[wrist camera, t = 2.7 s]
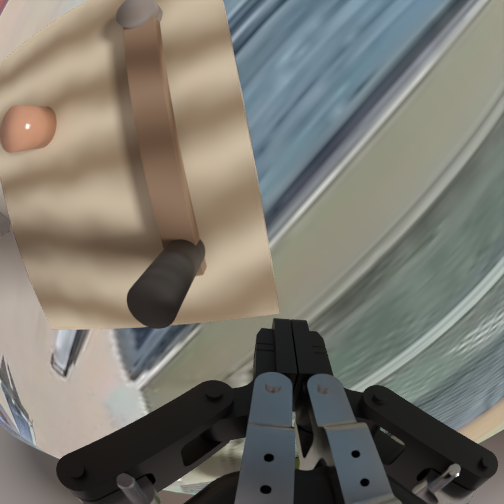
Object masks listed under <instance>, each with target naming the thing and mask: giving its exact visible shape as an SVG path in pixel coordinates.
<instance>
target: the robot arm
mask: <svg viewBox="0 0 504 504" xmlns="http://www.w3.org/2000/svg"><path fill="white" fill-rule="evenodd" d="M292 411H294V412H295V413H296V419H295V422H294V427H292ZM380 427H382V428H383V429H385V430H386V431H388V432H389V433H391V434H392V435H393V436H395V437H396V438H398V439H399V440H401V441H402V442H403V443H404V444H405V445H402V444H400V443H398V442H397V441H395V440H394V439H392V438H391V437H390V436H388V435H387V434H385V433H384V432H382V431H381V430H380ZM245 437H246V439H245V445H244V451H243V457H242V463H241V469H240V471H237V472H233V473H230V474H227V475H224V476H222V477H220V478H217V479H216V480H214V481H212V482H211V483H210V484H208V485H207V486H206V487H205V488H203V489H202V490H201V491H199V492H198V493H197V494H196V495H194V496H193V497H192V498H190V499H189V500H188V501H186V502H185V503H184V504H469V502H470V500H471V498H472V496H473V494H474V492H475V490H476V489H477V488H478V487H479V486H481V485H482V484H483V483H485V482H486V481H487V480H488V479H489V478H491V477H492V476H493V475H494V474H495V473H496V471H497V468H498V461H497V458H496V456H495V455H494V454H493V453H492V452H491V451H489V450H487V449H486V448H484V447H482V446H480V445H479V444H477V443H475V442H474V441H472V440H470V439H468V438H467V437H465V436H463V435H462V434H460V433H458V432H457V431H455V430H453V429H452V428H450V427H448V426H447V425H445V424H443V423H442V422H440V421H439V420H437V419H435V418H434V417H432V416H430V415H429V414H427V413H426V412H424V411H422V410H421V409H419V408H418V407H416V406H415V405H413V404H411V403H410V402H408V401H407V400H405V399H404V398H402V397H400V396H399V395H397V394H396V393H394V392H393V391H391V390H390V389H388V388H386V387H384V386H379V385H374V386H370V387H368V388H366V389H365V391H364V393H362V392H357V391H352V390H348V389H346V388H344V387H343V385H342V383H341V382H340V381H339V380H338V379H337V378H336V377H334V376H333V373H332V369H331V365H330V361H329V358H328V354H327V351H326V348H325V343H324V340H323V338H322V337H321V336H320V335H319V333H318V332H316V331H309V328H308V324H307V321H306V320H293V319H291V320H290V319H278V318H274V319H273V324H272V329H266V328H261V330H260V331H259V332H258V334H257V337H256V345H255V353H254V363H253V381H252V382H251V383H249V384H248V385H246V386H243V387H239V388H231V387H230V386H229V385H228V384H226V383H224V382H221V381H217V380H210V381H205V382H202V383H201V384H199V385H197V386H196V387H194V388H192V389H191V390H189V391H187V392H186V393H184V394H182V395H181V396H179V397H177V398H176V399H174V400H172V401H171V402H169V403H167V404H165V405H164V406H162V407H160V408H158V409H157V410H155V411H153V412H151V413H149V414H148V415H146V416H144V417H142V418H140V419H138V420H136V421H135V422H133V423H131V424H129V425H127V426H125V427H123V428H121V429H119V430H117V431H115V432H113V433H111V434H109V435H107V436H105V437H103V438H101V439H99V440H97V441H95V442H93V443H91V444H89V445H86V446H84V447H82V448H80V449H78V450H76V451H73V452H71V453H69V454H66V455H65V456H63V457H62V458H61V459H60V460H59V462H58V464H57V468H56V471H57V476H58V478H59V480H60V482H61V483H62V484H63V485H64V486H65V487H66V488H68V489H69V490H70V492H71V493H72V494H73V495H74V496H75V497H76V498H78V499H79V500H80V501H81V502H83V503H84V504H160V503H161V501H160V497H159V495H158V492H159V491H161V490H162V489H164V488H166V487H167V486H169V485H170V484H172V483H173V482H175V481H176V480H178V479H180V478H181V477H183V476H184V475H185V474H187V473H188V472H190V471H191V470H193V469H194V468H196V467H197V466H198V465H200V464H201V463H203V462H204V461H205V460H207V459H208V458H209V457H211V456H212V455H213V454H215V453H216V452H217V451H219V450H220V449H221V448H223V447H224V446H225V445H226V444H228V443H229V441H230V440H234V439H239V438H245ZM295 438H296V443H297V449H298V455H299V461H300V467H299V469H295Z"/></svg>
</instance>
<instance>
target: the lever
mask: <svg viewBox="0 0 504 504" xmlns="http://www.w3.org/2000/svg"><path fill="white" fill-rule="evenodd" d="M162 15H163V12H162V9H161V8H160V7H159V6H158V4H157V3H156V2H155V1H154V0H126V1H124V2H123V3H122V4H121V6H120V7H119V8H118V10H117V13H116V21H117V23H118V24H119V25H121V26H122V27H123V35H124V47H125V57H126V66H127V74H128V82H129V89H130V96H131V103H132V109H133V115H134V121H135V127H136V133H137V138H138V143H139V148H140V153H141V158H142V163H143V168H144V173H145V177H146V182H147V186H148V190H149V195H150V199H151V203H152V207H153V211H154V215H155V219H156V223H157V227H158V230H159V234H160V238H161V241H162V245H163V248H164V250H163V251H162V252H161V253H160V254H159V255H158V256H157V258H156V259H155V260H154V261H153V262H152V263H151V264H150V266H149V267H148V268H147V269H146V270H145V271H144V273H143V274H142V275H141V276H140V277H139V279H138V280H137V281H136V282H135V283H134V285H133V286H132V287H131V288H130V289H129V291H128V294H127V306H128V308H129V311H130V312H131V314H132V315H133V317H134V318H135V319H136V320H137V321H139V322H140V323H141V324H143V325H145V326H147V327H151V328H156V329H158V328H165V327H167V326H169V325H171V324H172V323H173V322H174V320H175V318H176V316H177V314H178V312H179V310H180V307H181V305H182V303H183V301H184V299H185V297H186V295H187V293H188V291H189V288H190V286H191V284H192V282H193V280H194V278H195V276H200V275H203V274H204V272H205V270H206V268H207V265H206V261H205V246H204V244H203V242H202V241H201V239H200V236H199V232H198V228H197V223H196V219H195V215H194V210H193V206H192V202H191V197H190V192H189V188H188V183H187V179H186V174H185V169H184V164H183V159H182V154H181V149H180V144H179V139H178V134H177V128H176V123H175V118H174V112H173V106H172V101H171V95H170V89H169V83H168V76H167V70H166V64H165V57H164V50H163V43H162V35H161V28H160V21H161V19H162Z"/></svg>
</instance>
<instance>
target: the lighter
mask: <svg viewBox="0 0 504 504" xmlns="http://www.w3.org/2000/svg"><path fill="white" fill-rule="evenodd" d="M9 227H10V220H9V219H8V218H7V217H6V216H4V215H3V214H2V213H0V236H1V235H3V234H5V233H7V232H9Z"/></svg>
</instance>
